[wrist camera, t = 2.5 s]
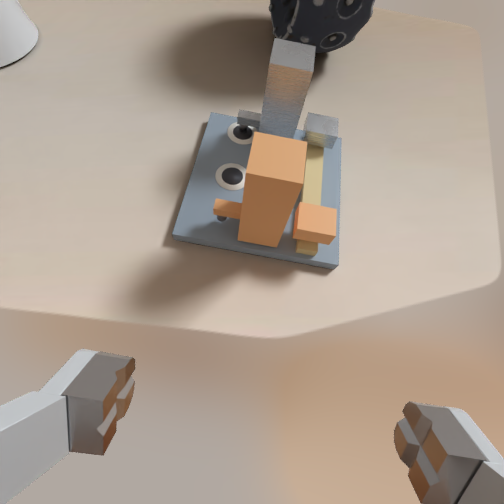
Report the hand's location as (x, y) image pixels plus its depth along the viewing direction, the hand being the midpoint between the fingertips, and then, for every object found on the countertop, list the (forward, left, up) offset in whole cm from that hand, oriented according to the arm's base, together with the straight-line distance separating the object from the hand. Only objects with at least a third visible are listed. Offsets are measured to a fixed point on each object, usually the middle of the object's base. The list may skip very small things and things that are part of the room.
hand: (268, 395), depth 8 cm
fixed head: (+1, +28, -16) cm, 32 cm away
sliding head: (+1, +15, -16) cm, 22 cm away
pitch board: (0, +22, -17) cm, 28 cm away
